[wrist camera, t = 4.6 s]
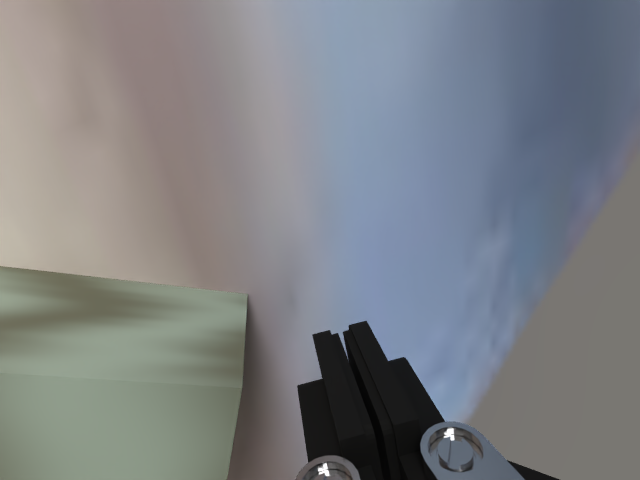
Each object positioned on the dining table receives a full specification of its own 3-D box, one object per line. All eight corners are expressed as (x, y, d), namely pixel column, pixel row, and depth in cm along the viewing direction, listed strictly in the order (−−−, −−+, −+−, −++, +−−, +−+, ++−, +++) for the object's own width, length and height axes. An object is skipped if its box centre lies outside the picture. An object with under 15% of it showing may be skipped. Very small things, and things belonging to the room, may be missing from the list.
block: (247, 291, 14) (242, 388, 9) (221, 458, 17) (204, 613, 11) (-138, 247, 12) (-440, 345, 7) (-111, 450, 14) (-323, 642, 9)
